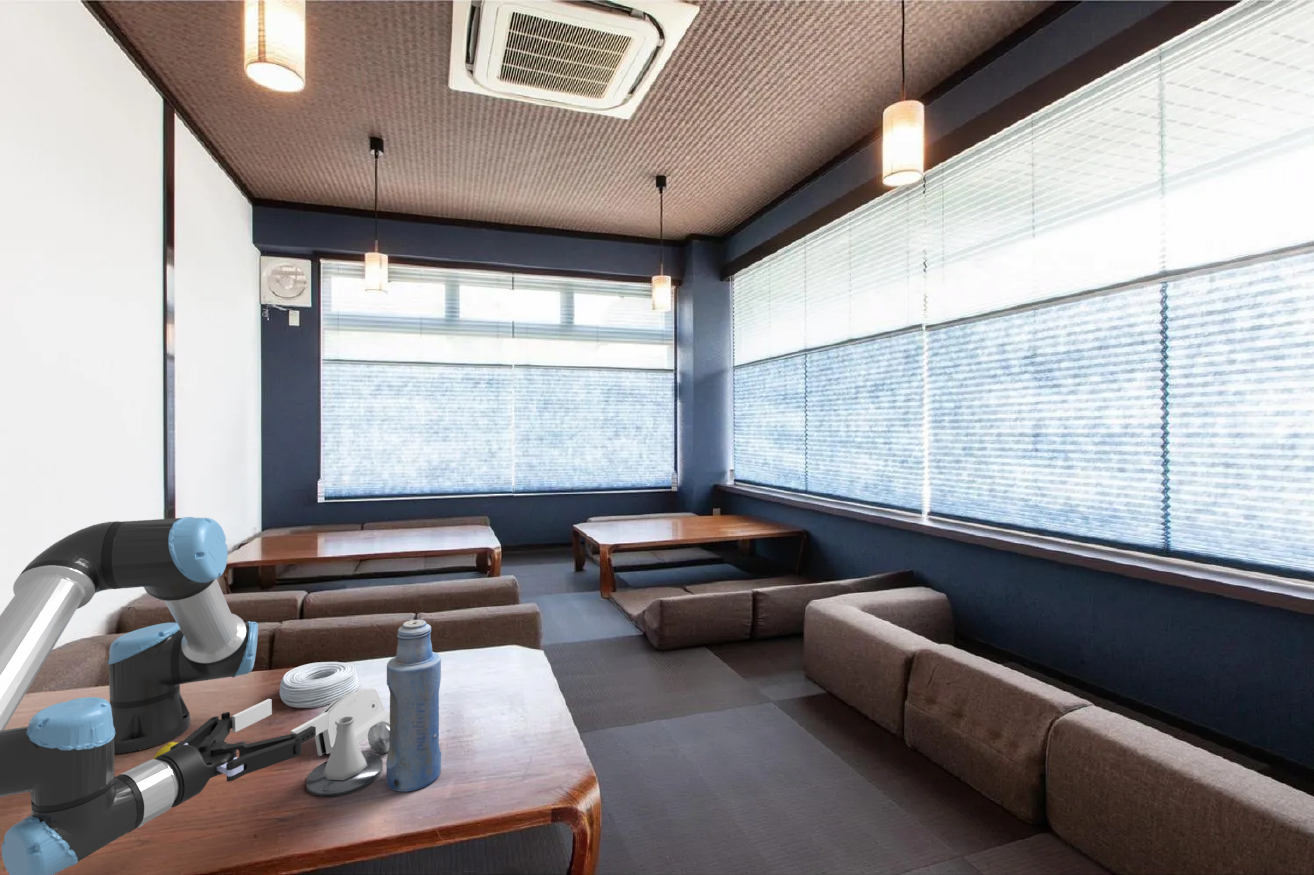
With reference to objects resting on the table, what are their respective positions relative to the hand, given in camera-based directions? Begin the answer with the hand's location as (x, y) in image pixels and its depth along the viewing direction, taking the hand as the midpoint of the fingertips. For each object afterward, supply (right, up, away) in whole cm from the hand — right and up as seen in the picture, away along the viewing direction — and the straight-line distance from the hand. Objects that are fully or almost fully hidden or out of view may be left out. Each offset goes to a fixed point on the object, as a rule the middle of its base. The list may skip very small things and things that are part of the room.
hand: (298, 712), depth 104 cm
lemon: (-29, -17, +8) cm, 34 cm away
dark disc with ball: (+5, -17, +16) cm, 24 cm away
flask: (+3, -16, +10) cm, 19 cm away
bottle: (+16, -17, +10) cm, 26 cm away
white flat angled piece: (-4, -17, +25) cm, 31 cm away
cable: (-22, -17, +46) cm, 54 cm away
